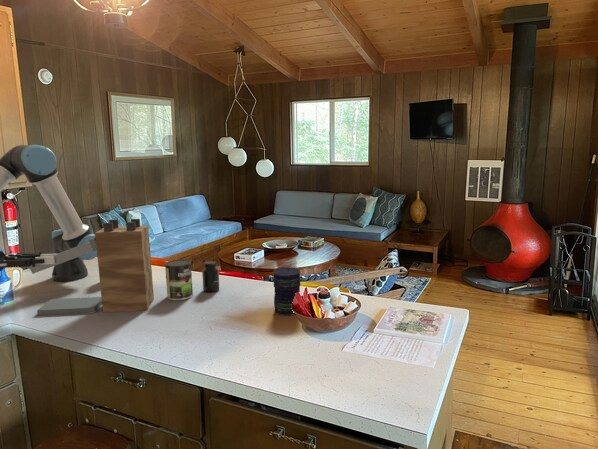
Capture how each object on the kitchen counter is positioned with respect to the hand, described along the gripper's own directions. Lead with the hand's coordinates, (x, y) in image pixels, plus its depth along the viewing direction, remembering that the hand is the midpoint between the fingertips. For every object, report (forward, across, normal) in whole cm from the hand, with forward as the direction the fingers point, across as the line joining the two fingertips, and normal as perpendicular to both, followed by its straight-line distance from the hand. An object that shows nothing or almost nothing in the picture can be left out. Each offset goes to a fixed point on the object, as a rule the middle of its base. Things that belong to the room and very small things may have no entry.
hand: (56, 258), depth 171 cm
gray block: (+4, 0, -20) cm, 20 cm away
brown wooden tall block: (+25, 0, -20) cm, 31 cm away
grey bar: (+3, 0, -1) cm, 3 cm away
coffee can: (+43, -8, -20) cm, 48 cm away
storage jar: (+85, +14, -20) cm, 88 cm away
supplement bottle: (+55, -14, -20) cm, 60 cm away
